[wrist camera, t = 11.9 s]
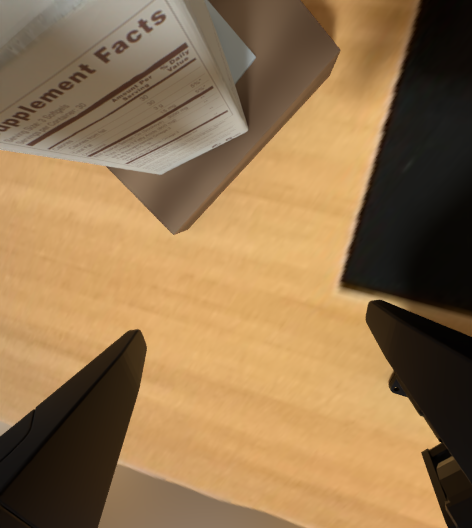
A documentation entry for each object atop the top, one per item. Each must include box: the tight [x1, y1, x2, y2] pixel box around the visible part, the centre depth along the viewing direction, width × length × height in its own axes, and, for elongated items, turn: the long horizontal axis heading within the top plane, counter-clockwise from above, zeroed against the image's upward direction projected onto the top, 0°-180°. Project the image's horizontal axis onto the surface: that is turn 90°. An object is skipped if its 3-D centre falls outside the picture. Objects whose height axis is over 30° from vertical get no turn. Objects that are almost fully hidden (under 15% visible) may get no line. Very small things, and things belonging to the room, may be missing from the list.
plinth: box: [106, 0, 340, 235], centre depth 16 cm, size 16×16×3 cm
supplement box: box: [0, 0, 248, 175], centre depth 9 cm, size 7×7×13 cm
